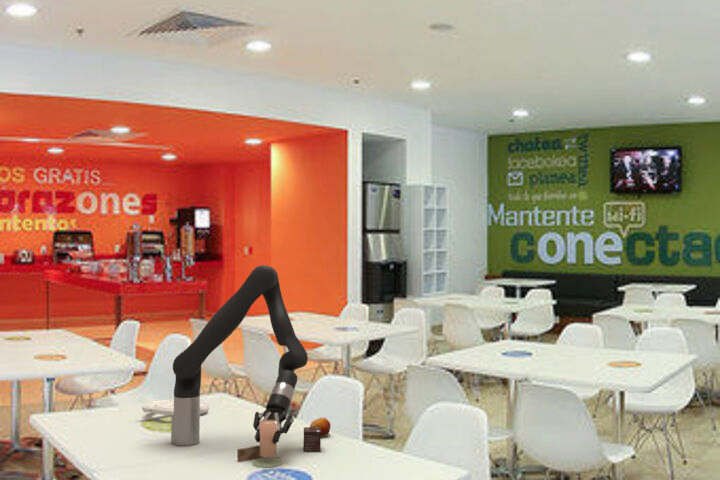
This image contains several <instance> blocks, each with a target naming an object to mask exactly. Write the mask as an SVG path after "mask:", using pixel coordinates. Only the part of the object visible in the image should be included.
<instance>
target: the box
mask: <svg viewBox="0 0 720 480" xmlns="http://www.w3.org/2000/svg"><path fill="white" fill-rule="evenodd" d="M321 439H322V437H321V429H320V427H310V426H309V427H308V426H307V427H306V426H304V427H303V452H304V453H320V452H321V443H322V442H321V441H322V440H321Z"/></svg>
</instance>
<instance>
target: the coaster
mask: <svg viewBox="0 0 720 480" xmlns="http://www.w3.org/2000/svg"><path fill="white" fill-rule="evenodd" d="M251 463H252V464H251V465H253V467H257V468H263V469H264V468H267V469H268V468H276V467H279V466H282V465H283V460H282V459H280V458H277V457H261V458H256V459H253V460H252V462H251Z"/></svg>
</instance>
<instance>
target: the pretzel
mask: <svg viewBox="0 0 720 480" xmlns="http://www.w3.org/2000/svg"><path fill="white" fill-rule="evenodd" d="M141 409H142V411H143V412H144V413H153V414H158V415H163V416H174V397H172V398H170V399H168V400H165V399H162V400H154V401H149V403H144V404H143V405H142V406H141ZM209 411H210V407H209V404H208V403H205V402H200V414H205V413H208V412H209Z"/></svg>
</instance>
